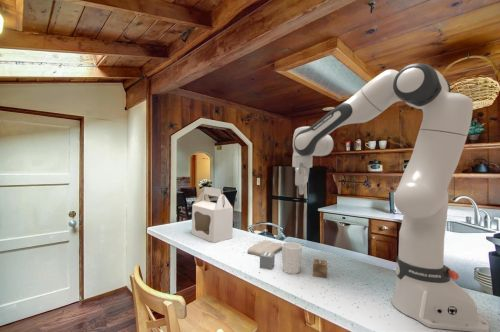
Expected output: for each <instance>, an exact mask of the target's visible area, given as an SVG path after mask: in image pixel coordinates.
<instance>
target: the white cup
mask: <svg viewBox="0 0 500 332" xmlns="http://www.w3.org/2000/svg"><path fill="white" fill-rule="evenodd" d="M281 244H282V250H281V254H282V255H281V257H282V270H283V271H284V272H285V273H287V274H291V275H292V274H293V275H294V274H299V273H300V272H301V264H302V253H303V252H302V251H303V246H302V244H300V243H297V242H292V241H291V242H290V241H288V242H287V241H285V242H283V243H281Z"/></svg>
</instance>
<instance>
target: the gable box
mask: <svg viewBox="0 0 500 332" xmlns="http://www.w3.org/2000/svg"><path fill="white" fill-rule="evenodd" d="M209 196H213V197H218V198H217V200H216V202H213V201H211V200H210V197H209ZM191 207H192V209H191V235H193V236H196V237H197V238H200V239H202V240H204V241H208V242H210V243H212V244H215V243H219V242H222V241H223V242H224V241H227V240H231V239H233V228H234V226H233V223H234V221H233V220H234V218H233V217H234V214H233V213H234V207H233V206H232V204H231V203H230V201H229V199H228V198H227V197H226V195H225V194H224V190H222V189H221V188H216V187H210V186H204V187H203V191H200V193H199V195H198V196H197V198H196V199H195V201H194V202H193V203H192V206H191Z"/></svg>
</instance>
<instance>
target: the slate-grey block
mask: <svg viewBox="0 0 500 332" xmlns="http://www.w3.org/2000/svg"><path fill="white" fill-rule="evenodd" d="M275 255H276V254H275V253H268V252H263V253H262V254H261V255H260V256H259V269H265V270H270V271H271V270H273V268H274V266H275Z"/></svg>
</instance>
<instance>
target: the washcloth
mask: <svg viewBox="0 0 500 332" xmlns="http://www.w3.org/2000/svg"><path fill="white" fill-rule="evenodd" d="M282 244H283V243H279V242H275V241H271V240H266V239H265V240H263V241H258V242H257V243H255V244H253V245H251V246H250V247H249V248H248V249H247V253H248V254H250V255H255V256H257V257H260V255H261V254H262V253H263V252H268V253H275V255H276V254H278V253H279V252H280V251H281V252H282Z"/></svg>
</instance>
